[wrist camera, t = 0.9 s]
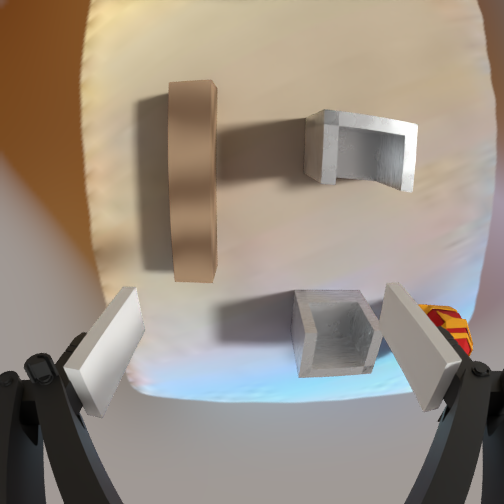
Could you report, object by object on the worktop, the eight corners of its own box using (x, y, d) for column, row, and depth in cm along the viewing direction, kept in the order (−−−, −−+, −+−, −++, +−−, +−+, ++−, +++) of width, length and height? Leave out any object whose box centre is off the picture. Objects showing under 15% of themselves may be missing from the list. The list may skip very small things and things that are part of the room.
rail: (181, 90, 29) (168, 82, 24) (217, 88, 29) (211, 79, 24) (184, 263, 36) (174, 281, 31) (217, 264, 36) (212, 282, 31)
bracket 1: (375, 178, 32) (412, 192, 23) (303, 172, 32) (321, 183, 23) (378, 126, 30) (417, 124, 21) (305, 117, 30) (324, 109, 21)
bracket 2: (294, 290, 37) (305, 333, 28) (359, 290, 37) (384, 330, 28) (290, 330, 39) (298, 377, 30) (351, 329, 39) (371, 373, 30)
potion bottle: (371, 336, 39) (410, 414, 25) (414, 276, 36) (476, 340, 22) (417, 355, 41) (457, 422, 27) (456, 302, 38) (512, 361, 24)
